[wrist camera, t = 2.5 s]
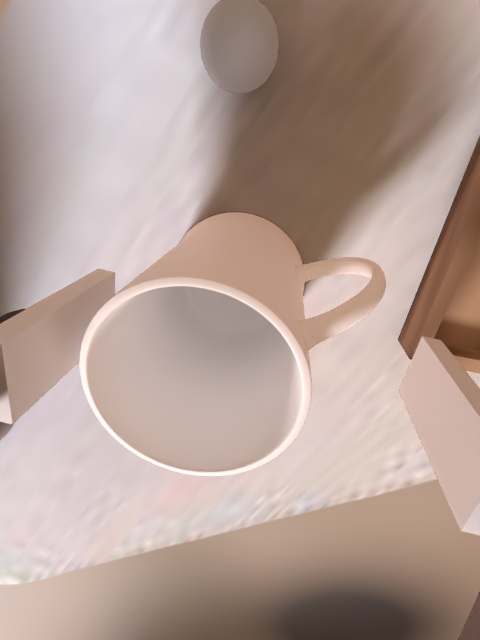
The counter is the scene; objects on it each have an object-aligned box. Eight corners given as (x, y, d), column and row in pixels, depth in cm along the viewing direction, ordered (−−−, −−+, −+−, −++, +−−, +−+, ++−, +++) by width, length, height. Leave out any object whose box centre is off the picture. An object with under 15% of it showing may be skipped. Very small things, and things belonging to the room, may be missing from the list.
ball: (204, 92, 19) (187, 78, 16) (213, 6, 17) (196, -29, 14) (271, 104, 19) (268, 93, 16) (287, 18, 17) (286, -14, 14)
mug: (344, 176, 20) (411, 200, 9) (368, 314, 23) (440, 456, 12) (152, 233, 22) (25, 305, 12) (197, 350, 26) (130, 493, 15)
